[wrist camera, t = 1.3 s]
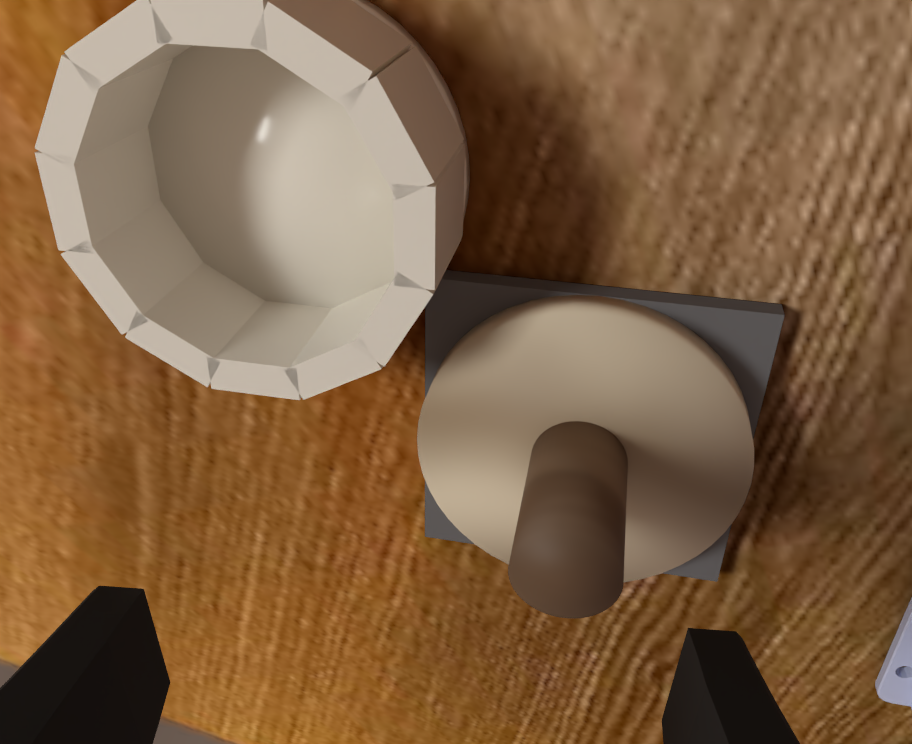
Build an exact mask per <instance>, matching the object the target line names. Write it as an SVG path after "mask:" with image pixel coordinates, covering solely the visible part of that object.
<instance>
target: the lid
mask: <svg viewBox="0 0 912 744" xmlns="http://www.w3.org/2000/svg"><path fill="white" fill-rule="evenodd" d="M417 444H418V456H419V460H420V465H421V469H422V473H423V476H424V478H425V481H426V483H427V486H428V488H429V490H430V492H431V494H432V496H433V497H434V499H435V501H436V503H437V505H438V506H439V507H440V509H441V510H442V511H443V513H444V514H445V515H446V517H447V518H448V519H449V520H450V521H451V522H452V523H453V525H454V526H455V527H456V528H457V529H458V530H459V531H460V532H461V533H462V534H463V535H465V536H466V537H467V538H468V539H469V540H471V541H472V542H473V543H474V544H475V545H477V546H478V547H480V548H481V549H483V550H484V551H486V552H487V553H489V554H490V555H492V556H494V557H496V558H497V559H499V560H501V561H503V562H505V563H507V564H509V566H508V575H509V579H510V582H511V585H512V587H513V588H514V590H515V592H516V593H517V594H518V595H519V596H520V597H521V599H522V600H524V601H525V602H526V603H527V604H529V605H530V606H532V607H533V608H535V609H537V610H539V611H541V612H543V613H546V614H549V615H552V616H557V617H562V618H583V617H589V616H593V615H596V614H598V613H601V612H603V611H604V610H606V609H608V608H609V607H610V606H612V605H613V604H614V603H615V602H616V600H617V599H618V598H619V596H620V594H621V592H622V589H623V582H628V581H633V580H639V579H644V578H647V577H651V576H654V575H657V574H661V573H664V572H666V571H668V570H671V569H673V568H676V567H678V566H680V565H682V564H684V563H686V562H687V561H689V560H691V559H693V558H694V557H696V556H698V555H699V554H700V553H702V552H703V551H704V550H706V549H707V548H708V547H710V546H711V545H712V544H713V543H714V542H715V541H716V540H717V539H718V538H720V537H721V536H722V535H723V534H724V533H725V532H726V530H727V529H728V528H729V526H730V525H731V524H732V522H733V521H734V520H735V519H736V517H737V515H738V513H739V512H740V510H741V508H742V506H743V504H744V502H745V500H746V497H747V494H748V492H749V489H750V486H751V482H752V476H753V470H754V444H753V438H752V432H751V426H750V421H749V415H748V410H747V406H746V403H745V400H744V397H743V394H742V391H741V389H740V387H739V385H738V383H737V381H736V380H735V378H734V376H733V374H732V372H731V371H730V369H729V368H728V367H727V365H726V364H725V363H724V361H723V360H722V359H721V357H720V356H719V355H718V354H717V353H716V352H715V351H714V350H713V349H712V348H711V347H710V346H709V345H708V344H707V343H706V342H705V341H704V340H703V339H702V338H700V337H699V336H698V335H697V334H695V333H694V332H693V331H691V330H690V329H689V328H687V327H686V326H684V325H683V324H681V323H679V322H677V321H676V320H674V319H672V318H670V317H669V316H667V315H665V314H662V313H660V312H658V311H655V310H653V309H651V308H648V307H646V306H643V305H639V304H636V303H633V302H629V301H626V300H622V299H616V298H610V297H604V296H594V295H564V296H552V297H547V298H541V299H536V300H531V301H528V302H525V303H522V304H519V305H516V306H513V307H510V308H507V309H505V310H503V311H501V312H499V313H497V314H495V315H493V316H491V317H489V318H488V319H486V320H484V321H483V322H481V323H480V324H478V325H477V326H475V327H474V328H473V329H471V330H470V331H469V332H468V333H467V334H466V335H465V336H463V337H462V338H461V339H460V340H459V341H458V342H457V343H456V344H455V346H454V347H453V348H452V349H451V350H450V351H449V353H448V354H447V355H446V357H445V358H444V360H443V362H442V363H441V365H440V366H439V368H438V370H437V372H436V374H435V377H434V379H433V381H432V384H431V386H430V388H429V391H428V393H427V396H426V398H425V400H424V403H423V405H422V409H421V414H420V418H419V422H418V435H417Z"/></svg>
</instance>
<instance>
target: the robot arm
mask: <svg viewBox="0 0 912 744" xmlns="http://www.w3.org/2000/svg"><path fill="white" fill-rule="evenodd" d="M902 666H907V667H904V668H899V667H902ZM169 685H170V680H169V677H168V673H167V670H166V666H165V662H164V659H163V655H162V652H161V648H160V645H159V641H158V638H157V634H156V631H155V627H154V624H153V620H152V617H151V613H150V610H149V606H148V603H147V599H146V596H145V592H144V589H137V588H123V587H109V586H98V587H97V588H96V589H95V590H93V591H92V592H91V593H90V594H89V596H88V597H87V598H86V599H85V600H84V601H83V602H82V603H81V604H80V605H79V606H78V607H77V608H76V609H75V610H74V611H73V612H72V613H71V615H70V616H69V617H68V618H67V619H66V620H65V621H64V622H63V623H62V624H61V625H60V626H59V627H58V628H57V629H56V630H55V632H54V633H53V634H52V635H51V636H50V637H49V638H48V639H47V640H46V641H45V642H44V643H43V644H42V645H41V646H40V647H39V648H38V650H37V651H36V652H35V653H34V654H33V655H32V656H31V657H30V658H29V659H28V660H27V661H26V662H25V663H24V664H23V665H22V666H21V667H20V668H19V669H18V670H17V671H16V672H15V673H14V675H13V676H12V677H11V678H10V679H9V680H8V681H7V682H6V683H5V684H4V685H3V686H2V687H1V688H0V744H153V740H154V737H155V734H156V731H157V727H158V724H159V720H160V717H161V713H162V710H163V706H164V703H165V699H166V695H167V692H168V688H169ZM875 687H876V690H877V694H878V696H879V697H880V698H881V699H882V700H884V701H886V702H890V703H894V704H900V705H906V706H911V708H912V598H911V600H910V602H909V605H908V607H907V609H906V612H905V614H904V616H903V619H902V621H901V623H900V626H899V628H898V630H897V633H896V635H895V637H894V640H893V642H892V644H891V647H890V649H889V651H888V654H887V656H886V658H885V661H884V663H883V665H882V668H881V670H880V672H879V675H878V677H877V680H876V683H875ZM662 729H663V742H664V744H800V743H799V741H798V740H797V738H796V736H795V735H794V733H793V731H792V729H791V728H790V726H789V724H788V722H787V721H786V719H785V717H784V715H783V714H782V712H781V710H780V708H779V707H778V705H777V703H776V701H775V699H774V698H773V696H772V694H771V692H770V690H769V688H768V687H767V685H766V683H765V681H764V679H763V677H762V675H761V674H760V672H759V670H758V668H757V666H756V664H755V662H754V660H753V658H752V657H751V655H750V653H749V651H748V649H747V647H746V645H745V643H744V641H743V639H742V638H741V636H740V635H739V634H738V633H737V632H735V631H721V630H707V629H693V628H688V630H687V634H686V637H685V641H684V644H683V648H682V651H681V655H680V658H679V662H678V665H677V669H676V672H675V676H674V679H673V683H672V686H671V690H670V693H669V697H668V700H667V704H666V707H665V711H664V714H663V718H662Z"/></svg>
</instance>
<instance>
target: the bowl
mask: <svg viewBox="0 0 912 744" xmlns="http://www.w3.org/2000/svg"><path fill="white" fill-rule="evenodd" d="M65 53H66V54H64V55H62V56H61V60H60V63H59V67H58V70H57V73H56V77H55V80H54V84H53V87H52V91H51V94H50V97H49V101H48V104H47V108H46V111H45V114H44V118H43V121H42V125H41V128H40V132H39V135H38V138H37V142H36V145H35V149H37V150H39V151H37V152H35V156H36V160H37V164H38V168H39V172H40V176H41V181H42V185H43V189H44V193H45V197H46V201H47V205H48V209H49V213H50V217H51V221H52V225H53V230H54V234H55V238H56V242H57V246H58V250H62V251H65V252H64V253H62V254H61V256H62V257H63V258H64V259H65V261H66V262H67V263H68V265H69V266H70V267H71V269H72V270H73V271H74V273H75V274H76V275H77V276H78V278H79V279H80V280H81V282H82V283H83V284H84V286H85V287H86V288H87V290H88V291H89V292H90V294H91V295H92V296H93V297H94V299H95V300H96V301H97V303H98V304H99V305H100V307H101V308H102V309H103V311H104V312H105V313H106V315H107V316H108V317H109V318H110V320H111V321H112V322H113V324H114V325H115V326H116V328H117V329H118V330H119V332H120V333H121V334H124V333H126V332H127V334H126V337H125V338H127V339H128V340H130V341H132V342H133V343H135V344H137V345H138V346H140V347H142V348H143V349H145V350H147V351H148V352H150V353H152V354H153V355H155V356H157V357H158V358H160V359H162V360H163V361H165V362H167V363H168V364H170V365H171V366H173V367H175V368H176V369H178V370H180V371H181V372H183V373H185V374H186V375H188V376H190V377H191V378H193V379H195V380H196V381H198V382H200V383H201V384H203V385H205V386H206V387H208V386H209V385H210V384H211V389H218V390H226V391H233V392H241V393H249V394H256V395H264V396H271V397H279V398H287V399H294V400H300V399H301V397H302V398H303V400H304V399H307V398H309V397H312V396H314V395H317V394H320V393H322V392H325V391H327V390H330V389H332V388H335V387H337V386H340V385H342V384H345V383H347V382H350V381H352V380H355V379H358V378H360V377H363V376H365V375H368V374H370V373H373V372H375V371H378V370H380V369H382V367H383V366H384V367H385V365H386V364H387V362H388V361H389V359H390V358H391V356H392V355H393V353H394V352H395V350H396V349H397V348H398V346H399V345H400V343H401V342H402V340H403V339H404V337H405V336H406V334H407V333H408V331H409V330H410V328H411V327H412V325H413V324H414V322H415V321H416V319H417V318H418V317H419V315H420V314H421V312H422V311H423V309H424V308H425V306H426V305H427V303H428V302H429V300H430V299H431V297H432V296H433V294H434V292H435V290H436V288H437V287H438V285H439V283H440V281H441V279H442V277H443V275H444V273H445V271H446V269H447V267H448V265H449V263H450V261H451V259H452V257H453V255H454V253H455V251H456V249H457V247H458V245H459V243H460V241H461V238H462V236H463V221H464V217H465V213H466V208H467V204H468V196H469V186H470V167H469V153H468V147H467V141H466V135H465V131H464V128H463V124H462V121H461V118H460V114H459V111H458V108H457V106H456V104H455V101H454V99H453V97H452V94H451V92H450V90H449V88H448V85H447V84H446V82H445V80H444V79H443V77H442V75H441V74H440V72H439V70H438V69H437V67H436V65H435V64H434V62H433V61H432V60H431V58H430V57H429V56H428V54H427V53H426V52H425V51H424V49H423V48H422V47H421V45H420V44H419V43H418V42H417V41H416V40H415V39H414V38H413V37H412V36H411V35H410V34H409V33H408V32H407V31H406V30H405V29H404V28H403V27H402V26H401V25H400V24H399V23H398V22H397V21H396V20H394V19H393V18H392V17H391V16H389V15H388V14H387V13H385V12H384V11H383V10H382V9H380V8H379V7H378V6H376V5H374V4H373V3H371V2H369V1H368V0H137V1H135V2H134V3H132V4H131V5H130V6H128V7H127V8H125V9H124V10H123V11H121V12H120V13H118V14H117V15H116V16H114V17H113V18H111V19H110V20H108V21H107V22H106V23H104V24H103V25H101V26H100V27H99V28H97V29H96V30H94V31H93V32H91V33H90V34H89V35H87V36H86V37H84V38H83V39H82V40H80V41H79V42H77V43H76V44H74V45H73V46H72V47H70V48H69V49H67V50H66V51H65Z"/></svg>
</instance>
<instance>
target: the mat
mask: <svg viewBox="0 0 912 744" xmlns="http://www.w3.org/2000/svg"><path fill="white" fill-rule="evenodd" d="M564 295H594V296H604V297H610V298H616V299H622V300H626V301H629V302H633V303H636V304H639V305H643V306H646V307H648V308H651V309H653V310H655V311H658V312H660V313H662V314H665V315H667V316H669V317H670V318H672V319H674V320H676V321H677V322H679V323H681V324H683V325H684V326H686V327H687V328H689V329H690V330H691V331H693V332H694V333H695V334H697V335H698V336H699V337H700V338H702V339H703V340H704V341H705V342H706V343H707V344H708V345H709V346H710V347H711V348H712V349H713V350H714V351H715V352H716V353H717V354H718V355H719V356H720V357H721V359H722V360H723V361H724V363H725V364H726V365H727V367H728V368H729V369H730V371H731V372H732V374H733V376H734V378H735V380H736V381H737V383H738V385H739V387H740V389H741V391H742V394H743V397H744V400H745V403H746V406H747V410H748V415H749V421H750V426H751V432H752V438H754V434H755V430H756V426H757V422H758V418H759V414H760V410H761V406H762V403H763V399H764V395H765V391H766V387H767V383H768V379H769V375H770V371H771V367H772V363H773V359H774V355H775V351H776V347H777V343H778V339H779V335H780V332H781V328H782V324H783V320H784V316H785V315H784V311H783V308H782V304H774V303H764V302H754V301H744V300H735V299H725V298H715V297H705V296H696V295H686V294H676V293H666V292H657V291H647V290H637V289H627V288H617V287H608V286H598V285H588V284H578V283H569V282H559V281H549V280H539V279H530V278H520V277H510V276H500V275H490V274H481V273H471V272H461V271H451V270H446V271H445V273H444V275H443V277H442V279H441V281H440V283H439V285H438V287H437V288H436V290H435V292H434V294H433V296H432V297H431V299H430V300H429V302H428V303H427V305H426V306H425V398H426V396H427V393H428V391H429V388H430V386H431V384H432V381H433V379H434V377H435V374H436V372H437V370H438V368H439V366H440V365H441V363H442V362H443V360H444V358H445V357H446V355H447V354H448V353H449V351H450V350H451V349H452V348H453V347H454V346H455V344H456V343H457V342H458V341H459V340H460V339H461V338H462V337H463V336H465V335H466V334H467V333H468V332H469V331H470V330H471V329H473V328H474V327H475V326H477V325H478V324H480V323H481V322H483V321H484V320H486V319H488V318H489V317H491V316H493V315H495V314H497V313H499V312H501V311H503V310H505V309H507V308H510V307H513V306H516V305H519V304H522V303H525V302H528V301H531V300H536V299H541V298H547V297H552V296H564ZM731 525H732V524H731ZM731 525H730V526H729V528H728V529H727V530H726V532H725V533H724V534H723V535H722V536H721V537H720V538H718V539H717V540H716V541H715V542H714V543H713V544H712V545H711V546H710V547H708V548H707V549H706V550H704V551H703V552H702V553H700V554H699V555H698V556H696V557H694V558H693V559H691V560H689V561H687V562H686V563H684V564H682V565H680V566H678V567H676V568H673V569H671V570H668V571H666V572H664V573H665V574H672V575H678V576H685V577H691V578H697V579H704V580H710V581H717V580H718V576H719V572H720V568H721V564H722V560H723V556H724V552H725V548H726V544H727V541H728V537H729V533H730V529H731ZM425 537H432V538H438V539H445V540H451V541H458V542H464V543H471V544H474V543H473V542H472V541H471V540H469V539H468V538H467V537H466V536H465V535H463V534H462V533H461V532H460V531H459V530H458V529H457V528H456V527H455V526H454V525H453V523H452V522H451V521H450V520H449V519H448V518H447V517H446V515H445V514H444V513H443V511H442V510H441V509H440V507H439V506H438V505H437V503H436V501H435V499H434V497H433V496H432V494H431V492H430V490H429V488H428V486H427V483H426V481H425Z"/></svg>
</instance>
